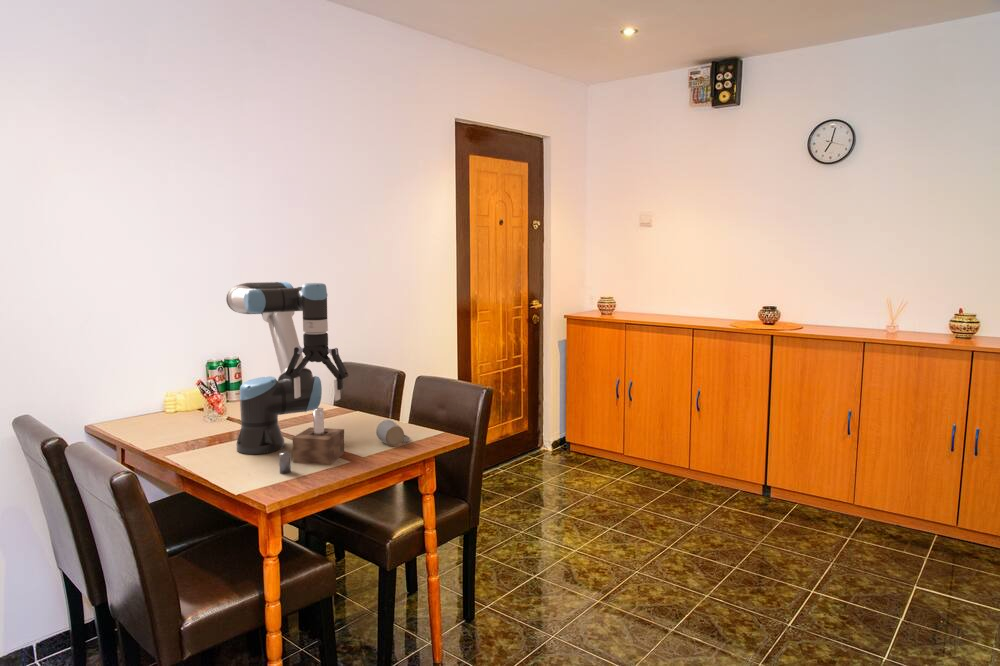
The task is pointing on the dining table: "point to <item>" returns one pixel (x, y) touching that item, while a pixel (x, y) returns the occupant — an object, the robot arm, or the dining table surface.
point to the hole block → (318, 446)
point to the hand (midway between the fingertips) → (317, 398)
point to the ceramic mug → (391, 433)
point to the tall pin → (318, 421)
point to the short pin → (284, 462)
